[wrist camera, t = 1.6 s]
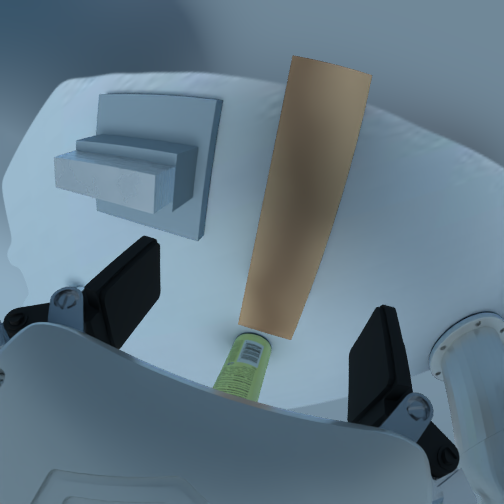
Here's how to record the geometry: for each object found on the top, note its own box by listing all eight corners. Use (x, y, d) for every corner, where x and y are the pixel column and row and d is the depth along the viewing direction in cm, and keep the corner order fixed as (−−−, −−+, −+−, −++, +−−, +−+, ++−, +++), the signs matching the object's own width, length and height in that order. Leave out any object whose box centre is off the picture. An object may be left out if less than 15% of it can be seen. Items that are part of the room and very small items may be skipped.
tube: (255, 364, 37) (209, 489, 21) (225, 345, 37) (167, 470, 20) (280, 346, 34) (236, 489, 18) (247, 325, 34) (186, 469, 17)
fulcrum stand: (222, 100, 22) (176, 97, 15) (203, 235, 30) (163, 278, 22) (108, 94, 24) (49, 100, 17) (104, 206, 31) (56, 235, 24)
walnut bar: (359, 86, 19) (372, 75, 13) (300, 295, 30) (290, 340, 24) (302, 71, 20) (292, 55, 14) (256, 282, 31) (238, 324, 25)
